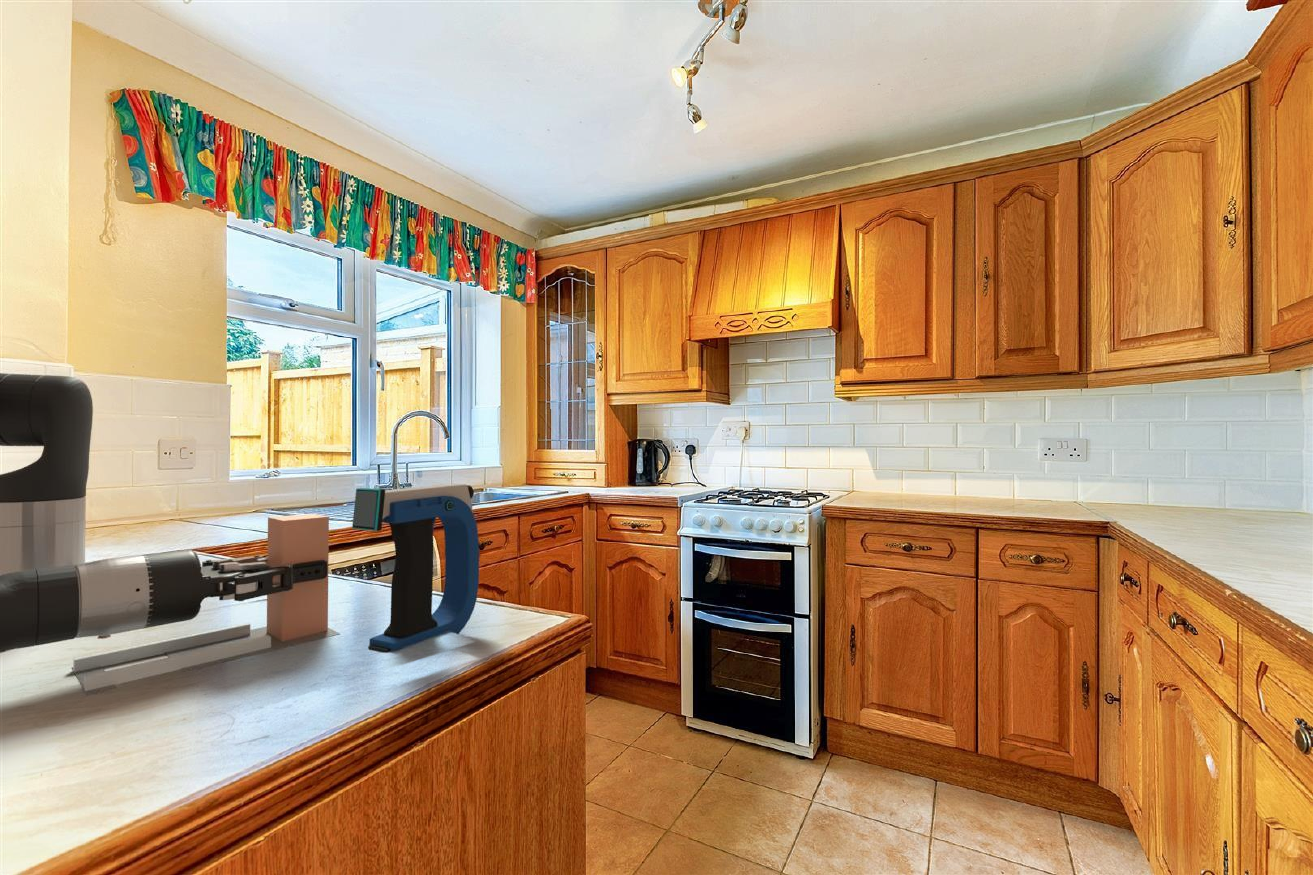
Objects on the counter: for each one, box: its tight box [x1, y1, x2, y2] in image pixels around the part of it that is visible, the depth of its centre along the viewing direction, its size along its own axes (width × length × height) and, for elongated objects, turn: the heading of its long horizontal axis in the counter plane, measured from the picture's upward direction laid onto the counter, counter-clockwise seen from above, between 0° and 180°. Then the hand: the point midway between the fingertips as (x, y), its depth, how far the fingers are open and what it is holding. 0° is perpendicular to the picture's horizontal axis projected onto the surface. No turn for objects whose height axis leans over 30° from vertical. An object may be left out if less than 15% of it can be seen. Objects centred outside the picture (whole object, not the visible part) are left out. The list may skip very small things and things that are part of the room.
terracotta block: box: [266, 513, 330, 641], centre depth 71 cm, size 5×5×14 cm
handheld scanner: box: [351, 483, 480, 653], centre depth 70 cm, size 5×16×20 cm, turn 154°
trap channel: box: [71, 622, 341, 696], centre depth 64 cm, size 10×22×3 cm, turn 141°
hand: (316, 565), depth 72 cm, fingers closed on terracotta block, 5 cm apart
